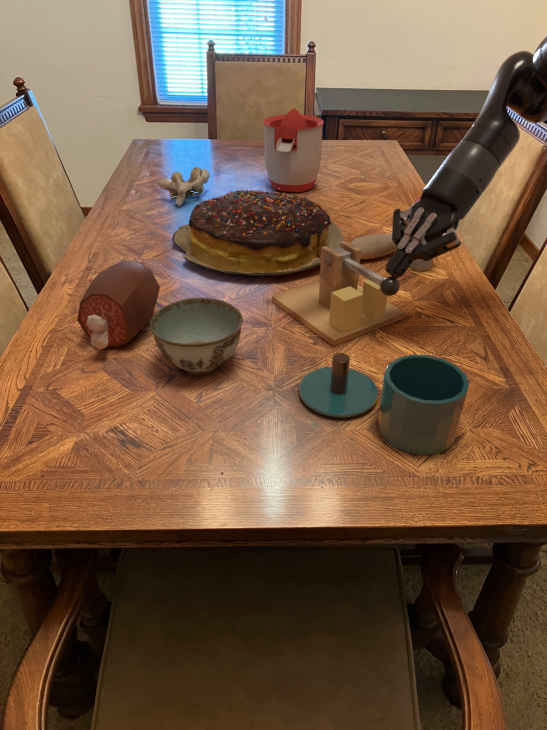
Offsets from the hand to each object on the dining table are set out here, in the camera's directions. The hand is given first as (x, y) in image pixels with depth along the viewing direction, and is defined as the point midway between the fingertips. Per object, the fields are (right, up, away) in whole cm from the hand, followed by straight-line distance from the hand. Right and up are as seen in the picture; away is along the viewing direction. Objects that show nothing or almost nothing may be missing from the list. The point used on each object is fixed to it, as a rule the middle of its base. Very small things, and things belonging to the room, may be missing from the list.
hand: (391, 274), depth 88 cm
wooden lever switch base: (-7, -4, +15) cm, 17 cm away
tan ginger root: (-41, +29, +61) cm, 79 cm away
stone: (+3, +9, +33) cm, 34 cm away
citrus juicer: (-13, +35, +69) cm, 78 cm away
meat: (-43, -8, +10) cm, 45 cm away
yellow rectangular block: (-1, -5, +11) cm, 12 cm away
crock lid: (-9, -18, -6) cm, 21 cm away
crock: (+1, -22, -11) cm, 25 cm away
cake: (-21, +12, +38) cm, 45 cm away
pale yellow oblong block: (-6, -7, +8) cm, 13 cm away
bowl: (-29, -14, +1) cm, 33 cm away
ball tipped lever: (-3, 0, +6) cm, 7 cm away
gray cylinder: (+12, +6, +29) cm, 32 cm away
